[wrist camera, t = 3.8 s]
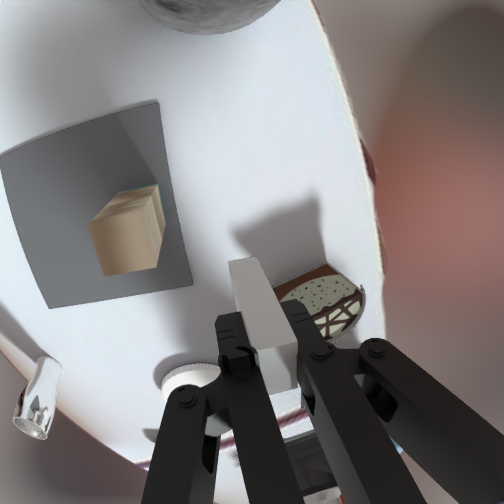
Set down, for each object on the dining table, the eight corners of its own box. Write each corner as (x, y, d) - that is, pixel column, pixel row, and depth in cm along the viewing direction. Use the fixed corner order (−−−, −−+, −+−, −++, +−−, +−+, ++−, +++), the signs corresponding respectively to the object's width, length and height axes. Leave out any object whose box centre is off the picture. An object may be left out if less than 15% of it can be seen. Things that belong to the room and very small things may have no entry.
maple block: (158, 182, 32) (142, 212, 22) (166, 221, 34) (156, 267, 24) (119, 191, 32) (87, 224, 21) (128, 229, 34) (104, 276, 23)
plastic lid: (246, 364, 49) (249, 375, 46) (224, 407, 53) (225, 417, 51) (168, 352, 44) (168, 363, 42) (156, 399, 49) (156, 409, 47)
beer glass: (32, 349, 39) (6, 411, 25) (63, 359, 41) (42, 424, 27) (39, 373, 41) (18, 432, 28) (68, 382, 43) (52, 444, 30)
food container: (273, 320, 45) (292, 365, 36) (260, 291, 42) (279, 336, 33) (342, 288, 45) (373, 325, 36) (335, 257, 42) (369, 292, 33)
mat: (158, 103, 29) (158, 102, 28) (192, 283, 39) (192, 285, 39) (0, 157, 26) (-2, 158, 25) (50, 307, 36) (48, 309, 36)
